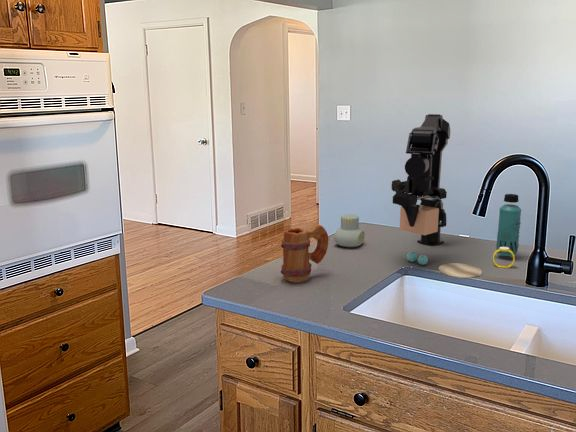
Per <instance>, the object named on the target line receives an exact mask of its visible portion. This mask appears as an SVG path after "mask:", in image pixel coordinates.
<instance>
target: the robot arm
mask: <svg viewBox="0 0 576 432" xmlns="http://www.w3.org/2000/svg"><path fill="white" fill-rule="evenodd" d="M450 139H451V126H450V123H449V121H447V120H445V119H444V117H443V114H440V113H439V114H436V113H435V114H433V113H432V114H431V113H429V114H425V117H424V120H423V123H422V124H421V125H420V126H419V127H414V128H412V130H411V132H409V134H408V140H407V145H406V150H405V154H407V155H410V157H409V159H406V161H405V163H404V170H405V173H406V175H407V177H406V180H405V181H401V180H400V179H394V180H392V181H391V185H390V186H391V191H393V192H395V194H394V195H393V196H392V204H395V205H398V206H400V207H403V208H404V210H405V212H406V215H407V218H408V222H409V225H410V226H411V227H413V226H414V224H415V221H416V217H417V214H418V211H419V207H420V205H423V206H428V207H434V208H439V216H438V232H435V233H431V234H428V235H421V234H420V239H418V240H417V243H421V244H425V245H428V246H436V245H440V244H443V243H445V242H444V240H442V239H441V228H444V227H446V226H447V213H446V211H445V209H444V202H443V200H444V199H447V193H448V192H447V191H446V189H445V188H444V187H443V188H442V187H440V186H441V185H440V184H441V172H442V171H441V170H442V156H443V151H444V150H445V148H446V147H447V146H448V142H449V140H450ZM419 200H420V203H419V204H418V205H417V203H418V201H419Z"/></svg>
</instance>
